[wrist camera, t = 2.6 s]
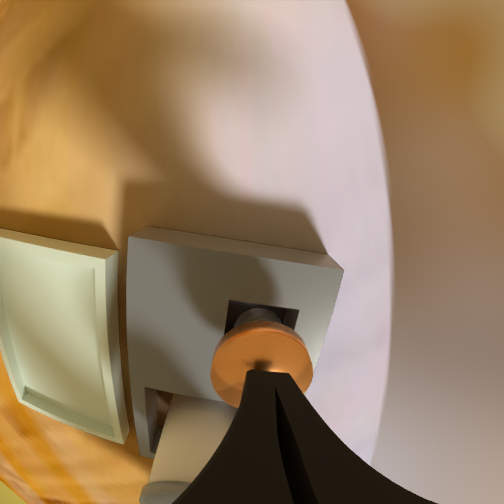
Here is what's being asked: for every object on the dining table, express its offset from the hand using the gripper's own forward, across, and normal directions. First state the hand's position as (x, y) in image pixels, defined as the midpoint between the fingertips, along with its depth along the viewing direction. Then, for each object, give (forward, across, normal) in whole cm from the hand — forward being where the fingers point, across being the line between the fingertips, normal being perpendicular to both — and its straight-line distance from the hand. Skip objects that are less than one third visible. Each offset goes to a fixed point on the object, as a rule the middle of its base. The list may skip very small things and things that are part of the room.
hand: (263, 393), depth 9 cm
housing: (+6, +2, +4) cm, 8 cm away
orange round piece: (+4, 0, 0) cm, 4 cm away
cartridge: (+6, +2, +8) cm, 10 cm away
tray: (+6, +12, +5) cm, 15 cm away
